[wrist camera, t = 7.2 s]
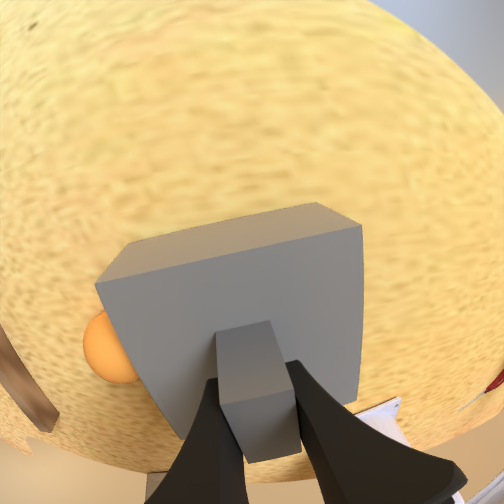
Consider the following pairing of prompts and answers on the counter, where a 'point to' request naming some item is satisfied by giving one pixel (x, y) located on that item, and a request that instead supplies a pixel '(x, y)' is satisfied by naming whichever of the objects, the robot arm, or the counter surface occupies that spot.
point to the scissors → (490, 386)
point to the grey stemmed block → (243, 318)
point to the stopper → (24, 388)
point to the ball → (107, 352)
